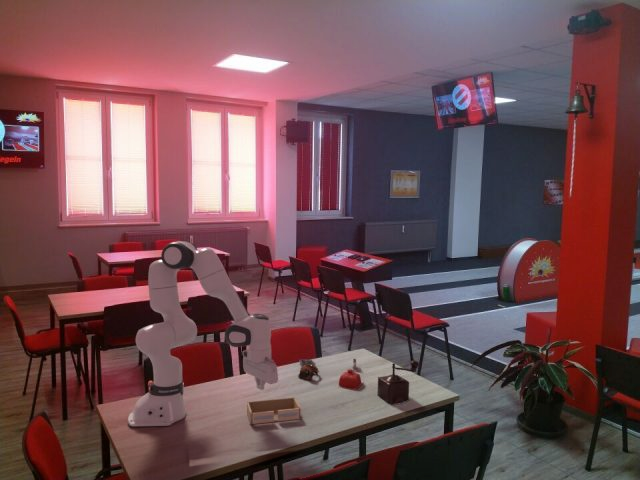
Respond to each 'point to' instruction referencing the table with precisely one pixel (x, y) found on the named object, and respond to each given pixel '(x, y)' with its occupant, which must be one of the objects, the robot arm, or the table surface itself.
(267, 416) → the left flap
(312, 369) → the pottery mug
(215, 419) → the table surface
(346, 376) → the butter dish
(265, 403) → the carton
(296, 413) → the right flap
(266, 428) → the table surface
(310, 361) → the egg carton
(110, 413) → the table surface
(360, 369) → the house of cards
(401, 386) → the manual coffee grinder
